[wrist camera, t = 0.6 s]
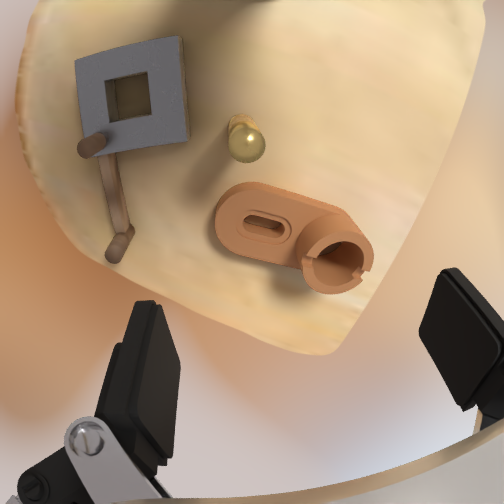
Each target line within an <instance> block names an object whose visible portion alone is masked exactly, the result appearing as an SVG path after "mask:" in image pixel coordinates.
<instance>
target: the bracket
mask: <svg viewBox="0 0 504 504" xmlns="http://www.w3.org/2000/svg"><path fill="white" fill-rule="evenodd" d="M249 215H256V216H260V217H264V218H267V219H271V220H275V221H278V222H281V225H280V226H279V227H278V228H276V229H269V228H265V227H261V226H257V225H253V224H250V223H246V222H245V221H244V219H245V218H246V217H247V216H249ZM215 230H216V234H217V236H218V239H219V240H220V242H221V243H222V244H223V245H224V246H225V247H226V248H227V249H228V250H230V251H231V252H233V253H236V254H238V255H242V256H246V257H250V258H254V259H259V260H263V261H267V262H271V263H275V264H280V265H284V266H288V267H292V268H297V269H301V270H302V273H303V276H304V279H305V281H306V283H307V284H308V285H309V286H310V287H311V288H312V289H313V290H315V291H317V292H320V293H323V294H339V293H343V292H346V291H348V290H350V289H352V288H354V287H356V286H357V285H358V284H360V283H361V282H362V281H363V280H362V279H361V277H360V276H361V275H362V274H363V273H364V271H368V272H369V271H370V270H371V267H372V264H373V259H374V253H373V248H372V246H371V244H370V242H369V241H368V240H367V238H366V237H365V236H364V234H363V233H362V232H361V230H360V229H359V228H358V226H357V225H356V224H355V223H354V221H353V220H352V219H351V217H350V216H349V215H348V214H347V213H346V212H345V211H344V210H342V209H341V208H339V207H336V206H333V205H330V204H327V203H324V202H321V201H318V200H315V199H312V198H308V197H305V196H302V195H299V194H296V193H293V192H289V191H286V190H283V189H279V188H276V187H273V186H269V185H266V184H263V183H258V182H245V183H241V184H238V185H236V186H234V187H232V188H230V189H229V190H228V191H226V192H225V193H224V195H223V196H222V197H221V199H220V200H219V202H218V205H217V208H216V216H215ZM341 241H343V242H342V243H341V245H340V246H339V247H338V248H337V249H336V250H334V251H333V252H331V253H328V254H325V255H319V253H320V252H321V251H322V250H323V249H325V248H326V247H327V246H329V245H331V244H333V243H336V242H341Z"/></svg>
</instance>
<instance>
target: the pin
mask: <svg viewBox="0 0 504 504" xmlns="http://www.w3.org/2000/svg"><path fill="white" fill-rule="evenodd" d="M228 148H229V152H230V154H231V155H232V157H233V158H234V159H236V160H237V161H239V162H243V163H251V162H254V161H256V160H258V159H259V158H260V157H261V156H262V155H263V153H264V150H265V140H264V137H263V136H262V134H261V132H260V131H259V129H258V128H257V126H256V124H255V123H254V121H253V120H252V119H251V118H250V117H249V116H247V115H243V114H241V115H237V116H235V117H233V118H232V119H231V120H230V122H229V126H228Z"/></svg>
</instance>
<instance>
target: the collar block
mask: <svg viewBox="0 0 504 504" xmlns="http://www.w3.org/2000/svg"><path fill="white" fill-rule="evenodd" d="M75 72H76V82H77V91H78V100H79V107H80V114H81V121H82V127H83V133H84V138H86V137H88V136H90V135H92V134H95V133H101V134H103V135H104V136H105V138H106V145H105V147H104V149H102V150H101V151H99V152H98V153H96V154H95V155H93V156H92V157H95V156H100V155H105V154H110V153H115V152H120V151H126V150H132V149H138V148H144V147H150V146H157V145H164V144H171V143H179V142H187V141H188V140H189V138H190V137H191V134H190V124H189V114H188V104H187V93H186V81H185V69H184V56H183V41H182V39H181V38H180V37H179V36H178V35H176V36H170V37H164V38H159V39H154V40H148V41H144V42H139V43H135V44H130V45H126V46H122V47H118V48H114V49H110V50H107V51H103V52H100V53H96V54H93V55H90V56H87V57H84V58H80V59H77V60H75ZM145 73H148V83H149V93H150V102H151V111H152V113H149V114H144V115H138V116H133V117H128V118H123V119H119V115H118V107H117V99H116V91H115V81H114V80H117V79H122V78H126V77H130V76H135V75H140V74H145Z"/></svg>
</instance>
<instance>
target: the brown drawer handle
mask: <svg viewBox="0 0 504 504" xmlns="http://www.w3.org/2000/svg"><path fill="white" fill-rule="evenodd" d="M105 145H106V138H105V136H104V135H103V134H101V133H95V134H92V135H90V136H88V137H86V138H84V139H82V140H81V141H80V142H79V143H78V146H77V151H78V154H79V155H80V156H81V157H82V158H85V159H87V158H90V157H92V156H93V155H95V154H96V153H98V152H99V151H101V150H102V149H104V147H105ZM98 161H99V166H100V171H101V175H102V180H103V185H104V189H105V193H106V198H107V202H108V206H109V210H110V214H111V218H112V222H113V225H114V229H115V233H116V235H115V236H114V238H113V240H112V241H111V243H110V245H109V246H108V248H107V250H106V251H105V258H106V259H107V260H108V261H109V262H110V263H113V264H117V263H119V262H120V261H121V259H122V257H123V255H124V253H125V251H126V249H127V247H128V245H129V243H130V241H131V239H132V237H133V236H134V234H135V229H134V227H133V226H132V225H131V224H130V220H129V216H128V212H127V208H126V203H125V199H124V194H123V189H122V185H121V180H120V175H119V170H118V165H117V159H116V154H115V153H110V154H105V155H100V156H98Z"/></svg>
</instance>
